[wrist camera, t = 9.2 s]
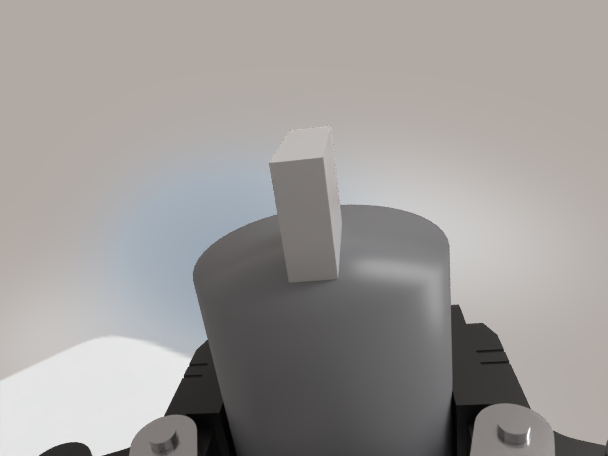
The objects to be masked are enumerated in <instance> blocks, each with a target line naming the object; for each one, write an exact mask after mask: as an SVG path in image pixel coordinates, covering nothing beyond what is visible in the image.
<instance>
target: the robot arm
mask: <svg viewBox="0 0 608 456" xmlns="http://www.w3.org/2000/svg"><path fill="white" fill-rule="evenodd" d="M451 337H452V378H453V382H452V400H453V440H454V456H608V441H607V444H606V446H604V445H599V444H595V443H590V442H586V441H581V440H576V439H573V438H569V437H566V436H564V435H561V434H559V433H557V432H555V431H553V430H552V428H551V426H550V425H549V423H548V422H547V421H546V420H545V419H544V418H543V417H542V416H541V415H539V414H538V413H536V412H535V411H533V410H531V408H530V406H529V404H528V402H527V399H526V397H525V395H524V393H523V391H522V388H521V386H520V384H519V382H518V380H517V377H516V375H515V373H514V371H513V369H512V366H511V365H510V364H509V360H508V358H507V355H506V353H505V352H504V349H503V347H502V345H501V342H500V340H499V338H498V336H497V334H495V333H494V332H493V331H492V330H491V329H489V328H488V327H487V326H486V325H484V324H483V323H477V324H476V323H475V324H466V322H465V320H464V317H463V314H462V311H461V309H460V307H459V305H451ZM189 365H190V366H189V367H188V368H187V370H186V372H185V374H184V378H182V380H181V383H180V385H179V387H178V389H177V391H176V393H175V395H174V397H173V399H172V401H171V403H170V405H169V407H168V409H167V411H166V413H165V415H164V417H161V418H158V419H156V420H154V421H152V422H150V423H149V424H147V425H146V426H145V427H143V428H142V429H141V430H140V431H139V432H138V433H137V435H136V436H135V437H134V439H133V441H132V443H131V447H130V448H127V449H124V450H121V451H117V452H114V453H110V454H107V455H103V456H237V455H236V451H235V447H234V443H233V439H232V435H231V431H230V426H229V422H228V418H227V414H226V410H225V406H224V402H223V398H222V394H221V390H220V386H219V382H218V378H217V374H216V370H215V366H214V362H213V358H212V354H211V350H210V346H209V342H208V340H207V341H206V342H205V343H204V344H203V345H201V346H200V347H199V348H198V349H197V350H196V352H195V354H194V356H193V358H192V360H191V362H190V364H189ZM39 456H92V454H91V451H90V449H89V448H88V446H86V445H85V444H82V443H78V442H70V443H65V444H61V445H58V446H55V447H53V448H51V449H49V450H47V451H45V452H44V453H42V454H41V455H39Z"/></svg>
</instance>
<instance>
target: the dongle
mask: <svg viewBox="0 0 608 456" xmlns="http://www.w3.org/2000/svg"><path fill="white" fill-rule="evenodd" d="M269 166H270V172H271V178H272V183H273V190H274V195H275V202H276V207H277V214H278V215H274V216H271V217H267V218H264V219H261V220H258V221H255V222H253V223H250V224H248V225H246V226H243V227H241V228H239V229H237V230H235V231H233V232H231V233H229V234H227V235H226V236H224V237H222V238H221V239H219V240H218V241H216V242H215V243H214V244H212V245H211V246H210V247H209V248H208V249H207V250H206V251H205V252H204V253H203V254H202V255H201V257H200V258H199V259H198V261H197V263H196V265H195V268H194V272H193V281H194V285H195V289H196V293H197V297H198V302H199V306H200V310H201V314H202V318H203V321H204V325H205V329H206V334H207V338H208V342H209V346H210V350H211V354H212V358H213V362H214V366H215V370H216V374H217V378H218V382H219V386H220V390H221V394H222V398H223V402H224V406H225V410H226V414H227V418H228V422H229V426H230V431H231V435H232V439H233V443H234V447H235V451H236V455H237V456H454V440H453V400H452V382H453V378H452V337H451V296H450V256H449V255H450V253H449V243H448V239H447V237H446V236H445V234H444V232H443V231H442V230H441V229H440V228H439V227H438V226H437V225H435V224H434V223H432V222H431V221H429V220H427V219H425V218H423V217H421V216H419V215H416V214H413V213H410V212H406V211H403V210H398V209H394V208H389V207H380V206H370V205H340V202H339V201H340V200H339V191H338V183H337V174H336V165H335V156H334V147H333V139H332V129H331V125H330V126H321V127H312V128H304V129H295V130H289V132H288V134H287V135H286V137H285V139H284V140H283V142H282V143H281V145H280V146H279V148H278V150H277V151H276V153H275V155H274V156H273V158H272V159H271V161H270V162H269Z"/></svg>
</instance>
